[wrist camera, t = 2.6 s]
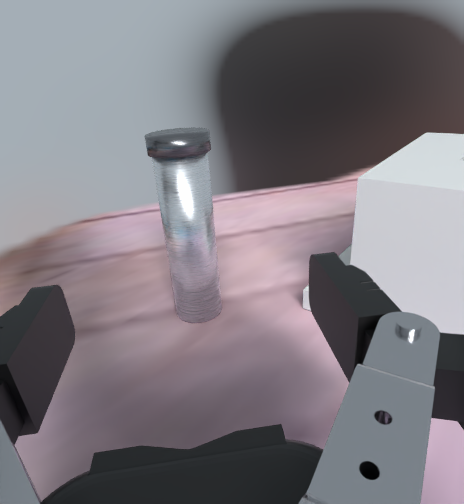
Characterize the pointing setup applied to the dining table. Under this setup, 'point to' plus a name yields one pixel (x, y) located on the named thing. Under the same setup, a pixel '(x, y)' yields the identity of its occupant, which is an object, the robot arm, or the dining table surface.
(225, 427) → the dining table surface
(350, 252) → the clevis bracket
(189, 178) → the clevis pin
